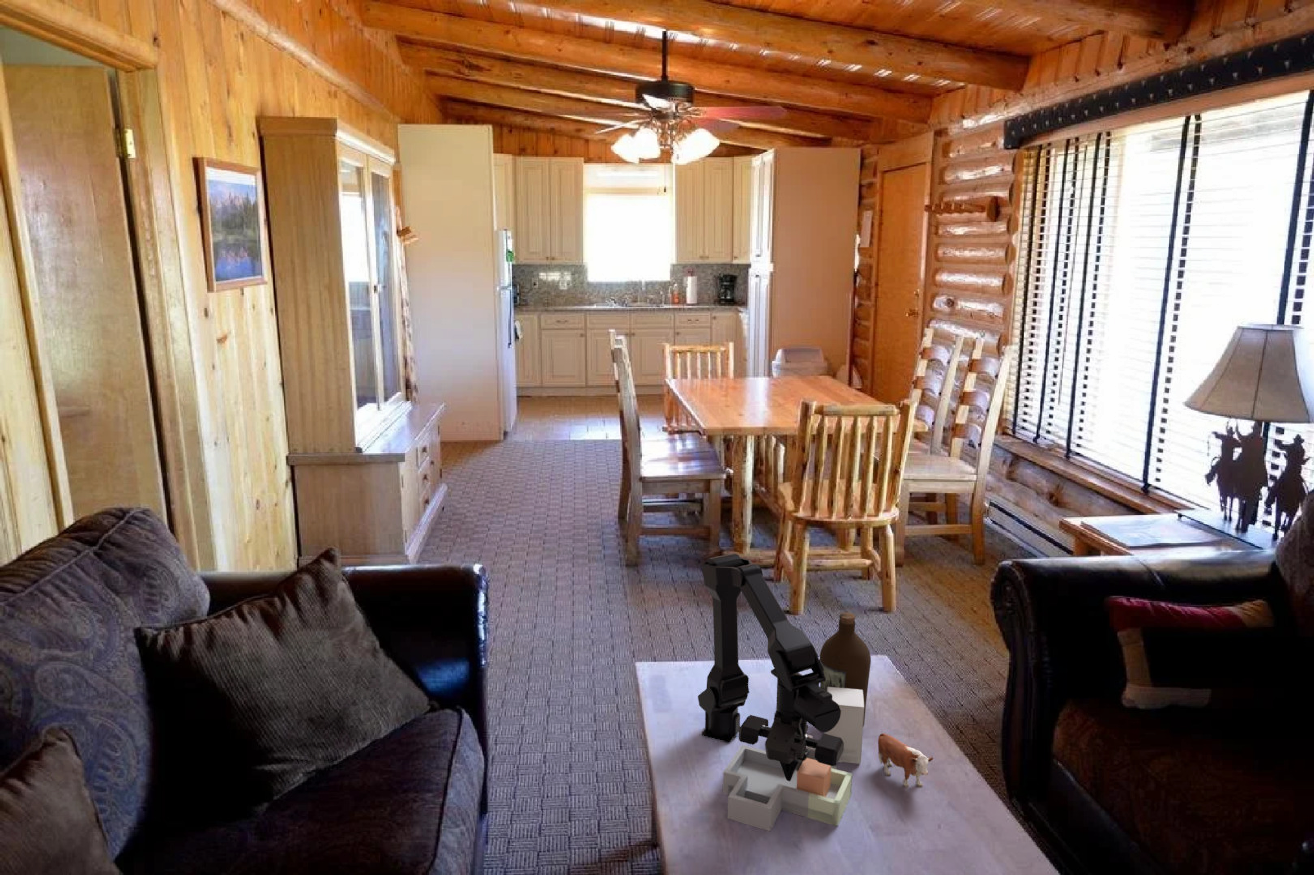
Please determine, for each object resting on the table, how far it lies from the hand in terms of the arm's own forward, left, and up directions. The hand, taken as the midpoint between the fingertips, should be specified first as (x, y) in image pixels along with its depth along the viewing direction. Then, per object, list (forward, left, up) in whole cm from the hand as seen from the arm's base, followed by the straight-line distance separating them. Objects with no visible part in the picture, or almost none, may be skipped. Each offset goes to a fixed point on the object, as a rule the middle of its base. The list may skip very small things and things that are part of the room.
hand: (789, 779), depth 164 cm
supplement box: (+6, +18, -3) cm, 19 cm away
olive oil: (+3, +29, -3) cm, 29 cm away
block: (+5, 0, -1) cm, 5 cm away
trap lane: (0, 0, -3) cm, 3 cm away
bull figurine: (+19, +14, -3) cm, 24 cm away
